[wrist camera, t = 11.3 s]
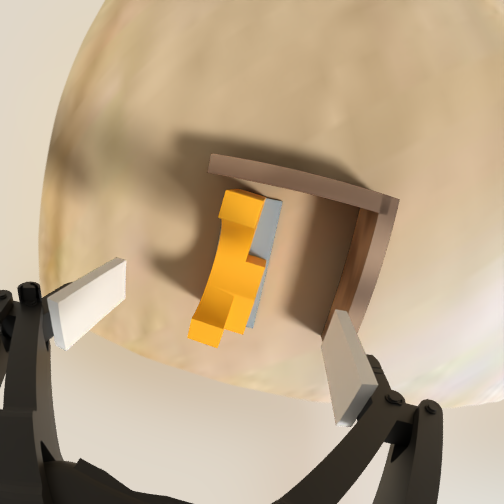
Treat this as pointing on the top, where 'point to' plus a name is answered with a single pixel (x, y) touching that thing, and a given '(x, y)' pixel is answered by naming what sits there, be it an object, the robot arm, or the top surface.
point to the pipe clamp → (231, 271)
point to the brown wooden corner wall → (365, 234)
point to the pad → (263, 244)
